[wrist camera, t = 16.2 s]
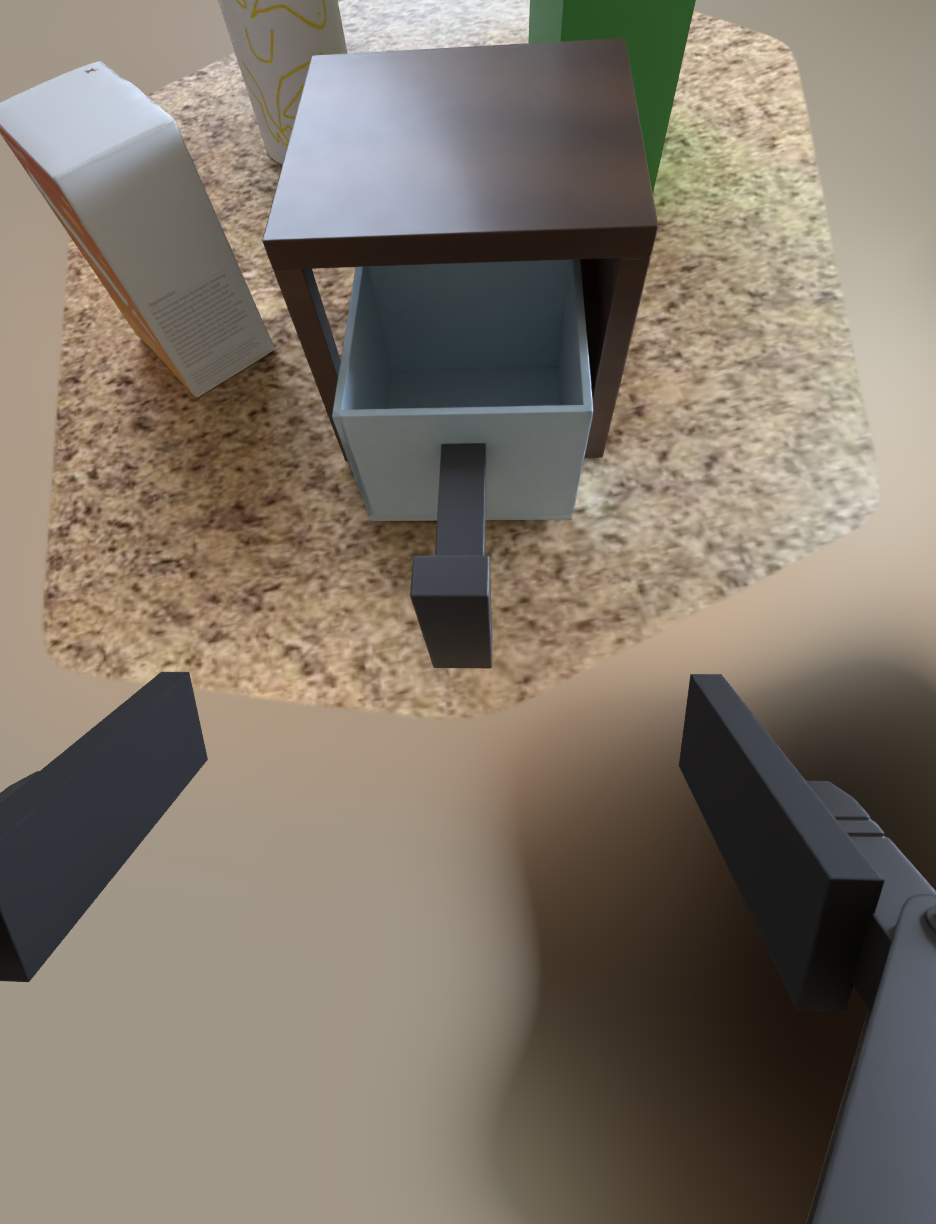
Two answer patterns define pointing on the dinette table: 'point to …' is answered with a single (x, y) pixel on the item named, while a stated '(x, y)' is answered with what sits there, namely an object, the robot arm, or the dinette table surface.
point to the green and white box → (628, 50)
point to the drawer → (464, 419)
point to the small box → (139, 219)
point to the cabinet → (469, 183)
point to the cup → (280, 56)
